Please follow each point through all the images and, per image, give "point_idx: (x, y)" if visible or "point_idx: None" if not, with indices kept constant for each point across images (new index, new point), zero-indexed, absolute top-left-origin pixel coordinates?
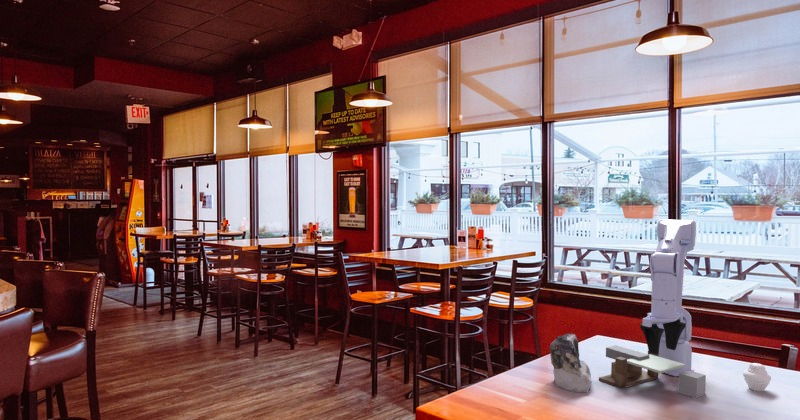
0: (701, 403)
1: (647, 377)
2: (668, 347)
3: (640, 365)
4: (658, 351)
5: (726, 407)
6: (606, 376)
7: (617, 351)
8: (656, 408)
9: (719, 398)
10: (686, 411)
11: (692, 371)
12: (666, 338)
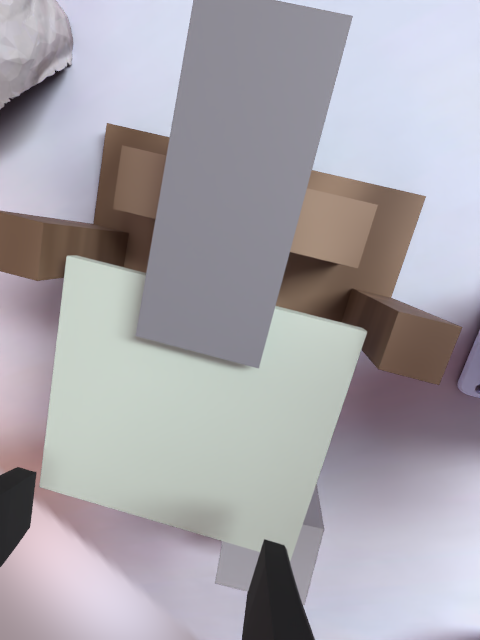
0: (181, 531)
1: (298, 307)
2: (260, 562)
3: (56, 370)
4: (9, 551)
5: (208, 594)
6: (151, 145)
7: (173, 130)
8: (9, 433)
9: None
10: (66, 509)
11: (317, 550)
12: (269, 633)
